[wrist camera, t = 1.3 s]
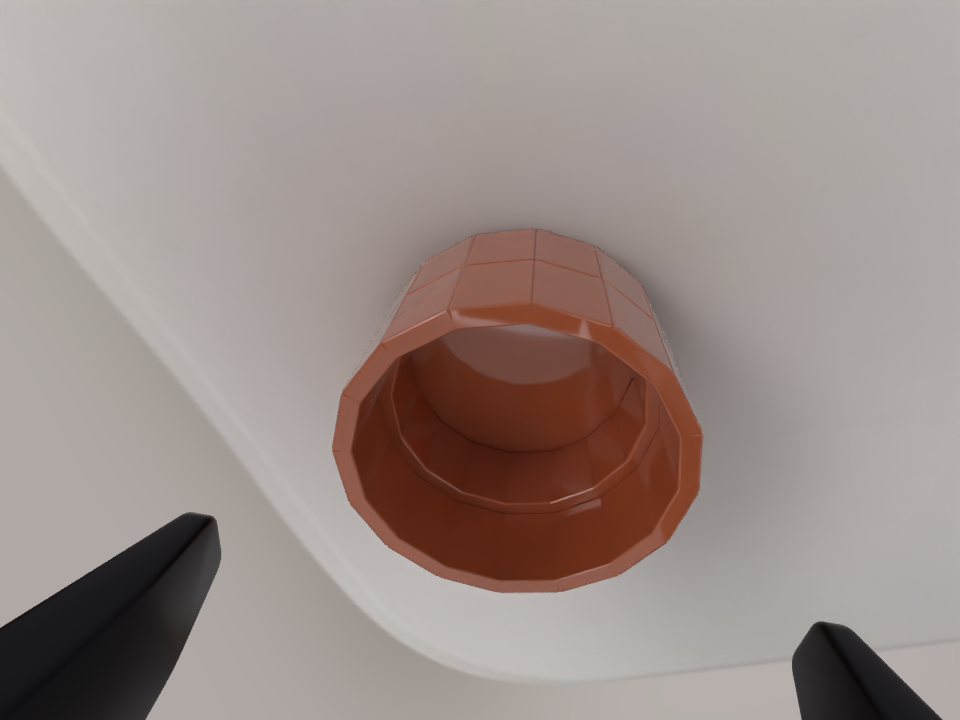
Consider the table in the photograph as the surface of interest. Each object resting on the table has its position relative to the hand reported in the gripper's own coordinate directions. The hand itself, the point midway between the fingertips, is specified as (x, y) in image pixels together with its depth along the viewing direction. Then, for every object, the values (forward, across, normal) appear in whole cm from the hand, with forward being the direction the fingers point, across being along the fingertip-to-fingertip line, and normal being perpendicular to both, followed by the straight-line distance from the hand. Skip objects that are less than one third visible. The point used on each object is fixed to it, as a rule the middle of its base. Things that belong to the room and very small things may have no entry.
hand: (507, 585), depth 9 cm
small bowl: (+7, 0, 0) cm, 7 cm away
